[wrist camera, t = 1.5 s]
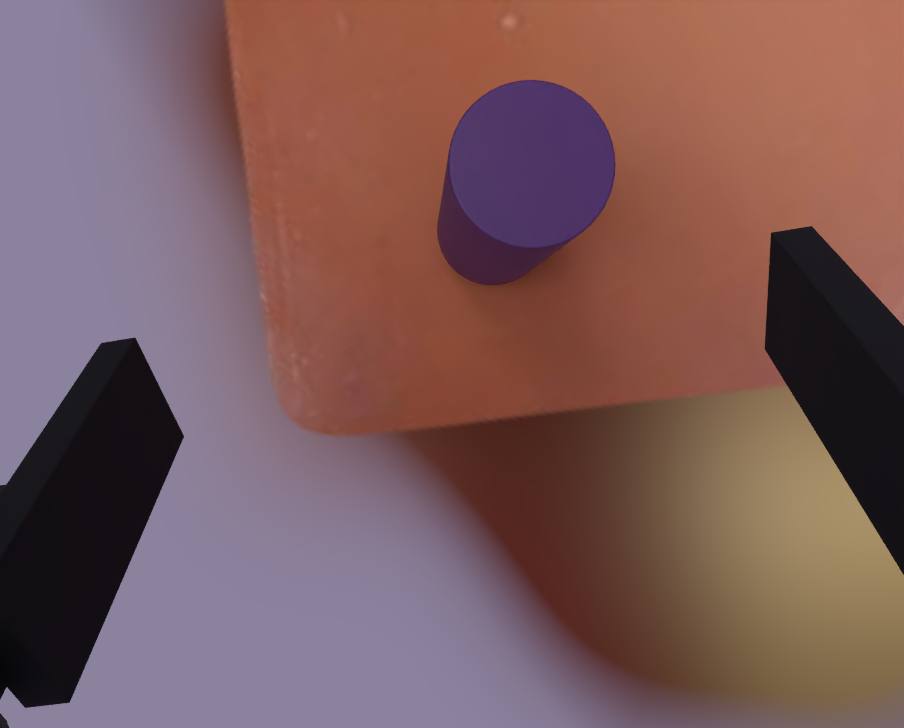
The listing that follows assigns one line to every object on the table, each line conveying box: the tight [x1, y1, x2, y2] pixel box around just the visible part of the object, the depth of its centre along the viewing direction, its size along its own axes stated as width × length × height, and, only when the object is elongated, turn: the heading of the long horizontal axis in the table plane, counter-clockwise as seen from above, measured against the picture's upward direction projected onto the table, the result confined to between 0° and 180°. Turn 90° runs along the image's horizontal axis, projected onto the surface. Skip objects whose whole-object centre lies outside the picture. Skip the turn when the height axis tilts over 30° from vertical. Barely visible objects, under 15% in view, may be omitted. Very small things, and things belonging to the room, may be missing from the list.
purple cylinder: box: [437, 80, 615, 285], centre depth 26 cm, size 4×4×12 cm
